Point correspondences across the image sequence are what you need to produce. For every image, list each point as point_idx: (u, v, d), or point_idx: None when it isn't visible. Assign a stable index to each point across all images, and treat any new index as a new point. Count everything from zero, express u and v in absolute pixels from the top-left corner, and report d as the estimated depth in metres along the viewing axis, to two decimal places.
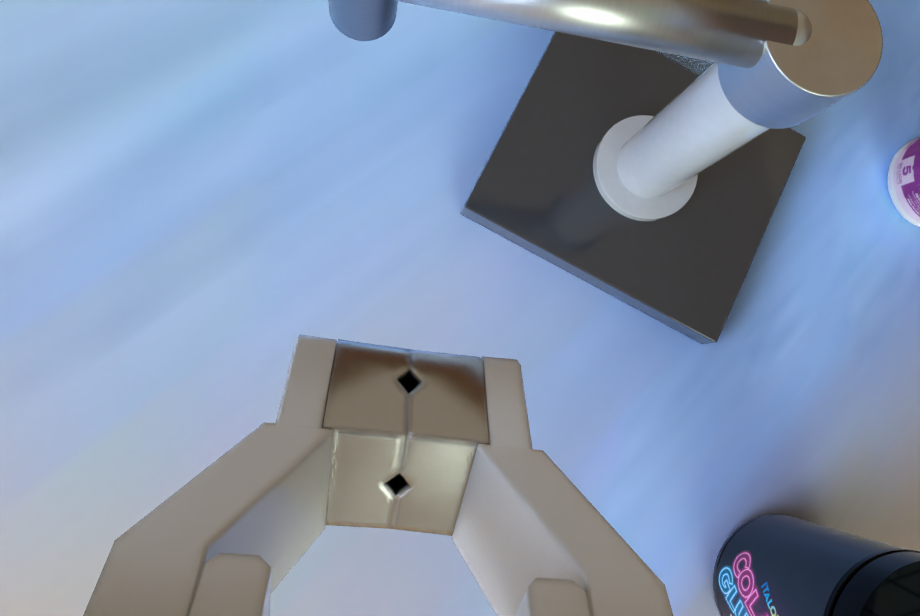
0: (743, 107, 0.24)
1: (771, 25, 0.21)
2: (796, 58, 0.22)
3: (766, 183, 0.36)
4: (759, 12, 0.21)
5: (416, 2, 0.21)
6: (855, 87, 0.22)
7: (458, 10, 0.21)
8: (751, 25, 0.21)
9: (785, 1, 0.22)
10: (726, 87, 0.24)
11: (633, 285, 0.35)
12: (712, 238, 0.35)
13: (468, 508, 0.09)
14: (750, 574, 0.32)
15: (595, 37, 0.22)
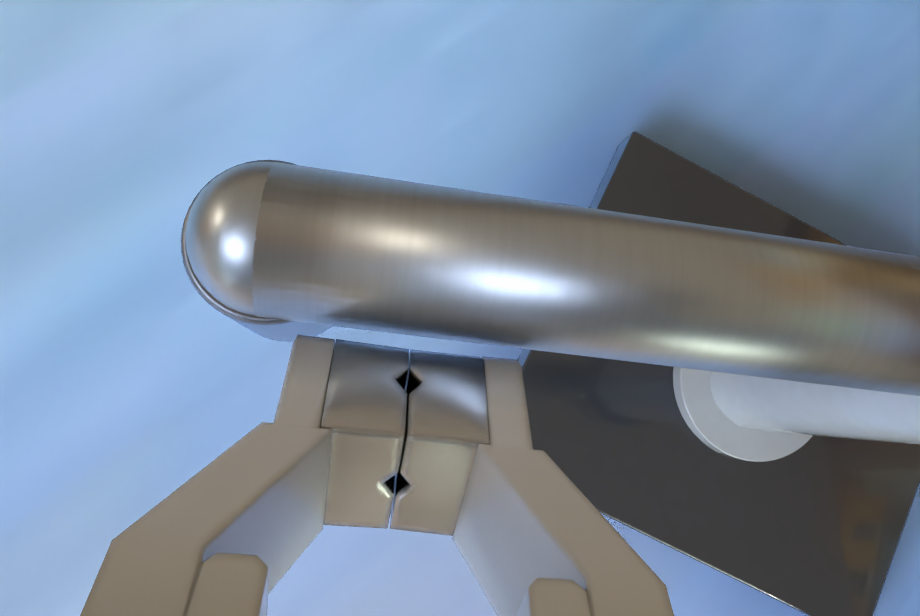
0: None
1: None
2: None
3: None
4: None
5: (387, 331, 0.10)
6: None
7: (479, 342, 0.10)
8: None
9: None
10: None
11: (738, 561, 0.23)
12: (851, 479, 0.24)
13: (469, 508, 0.09)
14: None
15: None
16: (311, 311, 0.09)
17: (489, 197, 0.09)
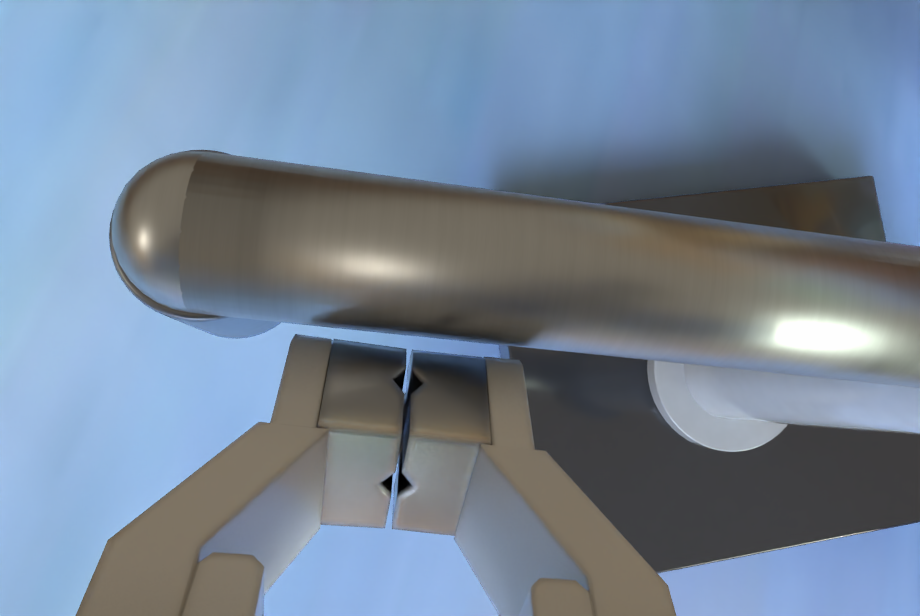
0: None
1: None
2: None
3: None
4: None
5: None
6: None
7: None
8: None
9: None
10: None
11: (806, 527, 0.23)
12: None
13: (471, 508, 0.09)
14: None
15: None
16: (244, 306, 0.09)
17: (429, 185, 0.09)
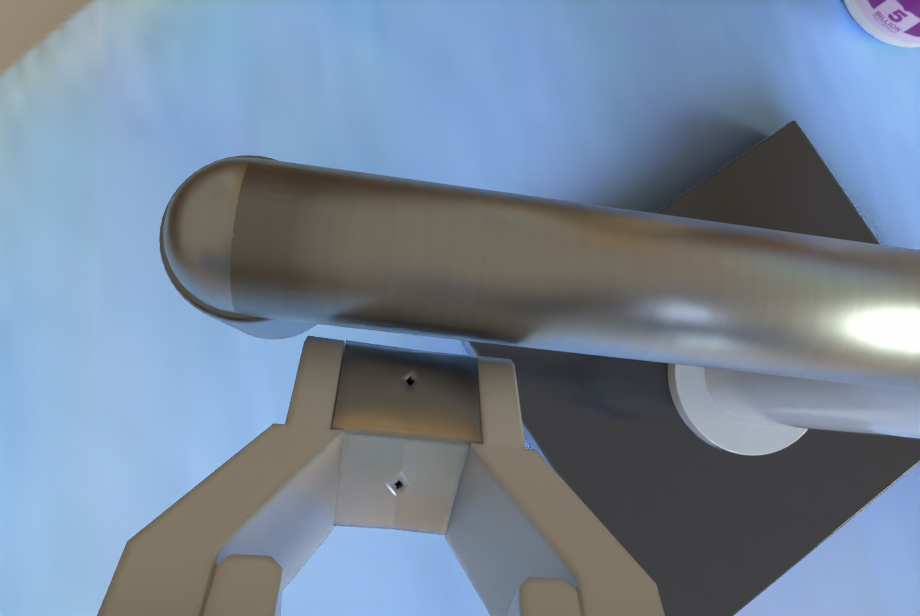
0: None
1: None
2: None
3: (830, 213, 0.25)
4: None
5: None
6: None
7: (464, 339, 0.10)
8: None
9: None
10: None
11: (878, 476, 0.24)
12: None
13: (461, 508, 0.09)
14: None
15: None
16: (291, 309, 0.09)
17: (472, 192, 0.09)
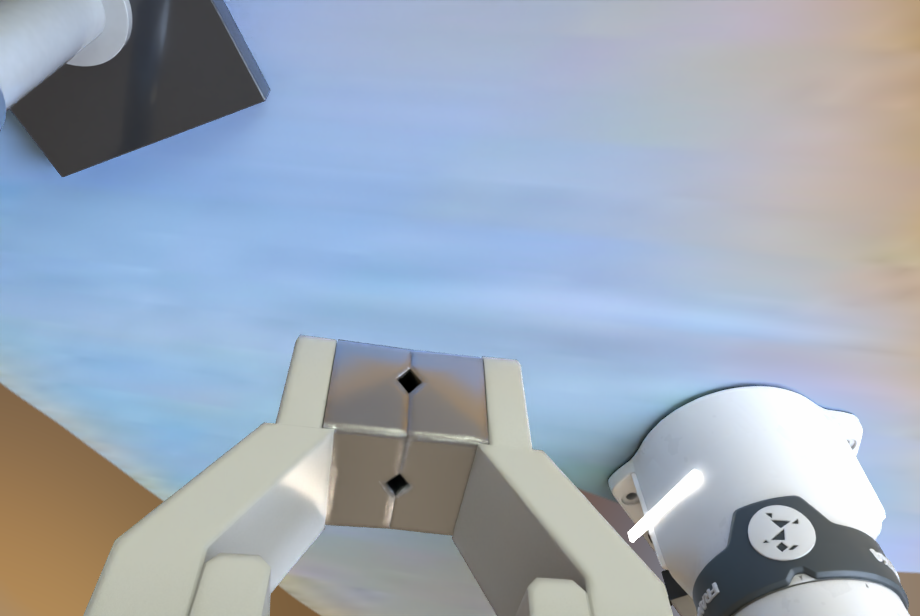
0: None
1: None
2: None
3: None
4: None
5: None
6: None
7: None
8: None
9: None
10: None
11: None
12: None
13: (468, 508, 0.09)
14: None
15: None
16: None
17: None
